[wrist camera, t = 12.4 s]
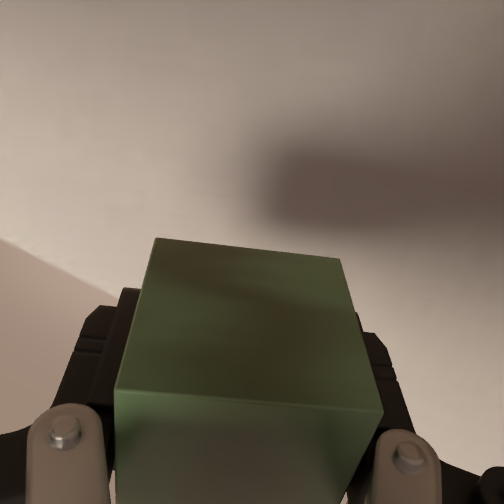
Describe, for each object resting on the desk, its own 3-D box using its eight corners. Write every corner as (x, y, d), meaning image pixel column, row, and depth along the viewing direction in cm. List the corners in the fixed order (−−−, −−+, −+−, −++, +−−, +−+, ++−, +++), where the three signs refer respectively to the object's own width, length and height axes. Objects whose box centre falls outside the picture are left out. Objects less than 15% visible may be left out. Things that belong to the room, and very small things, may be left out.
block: (149, 366, 14) (115, 529, 10) (155, 236, 12) (112, 390, 8) (302, 380, 15) (323, 541, 11) (340, 257, 12) (385, 413, 8)
